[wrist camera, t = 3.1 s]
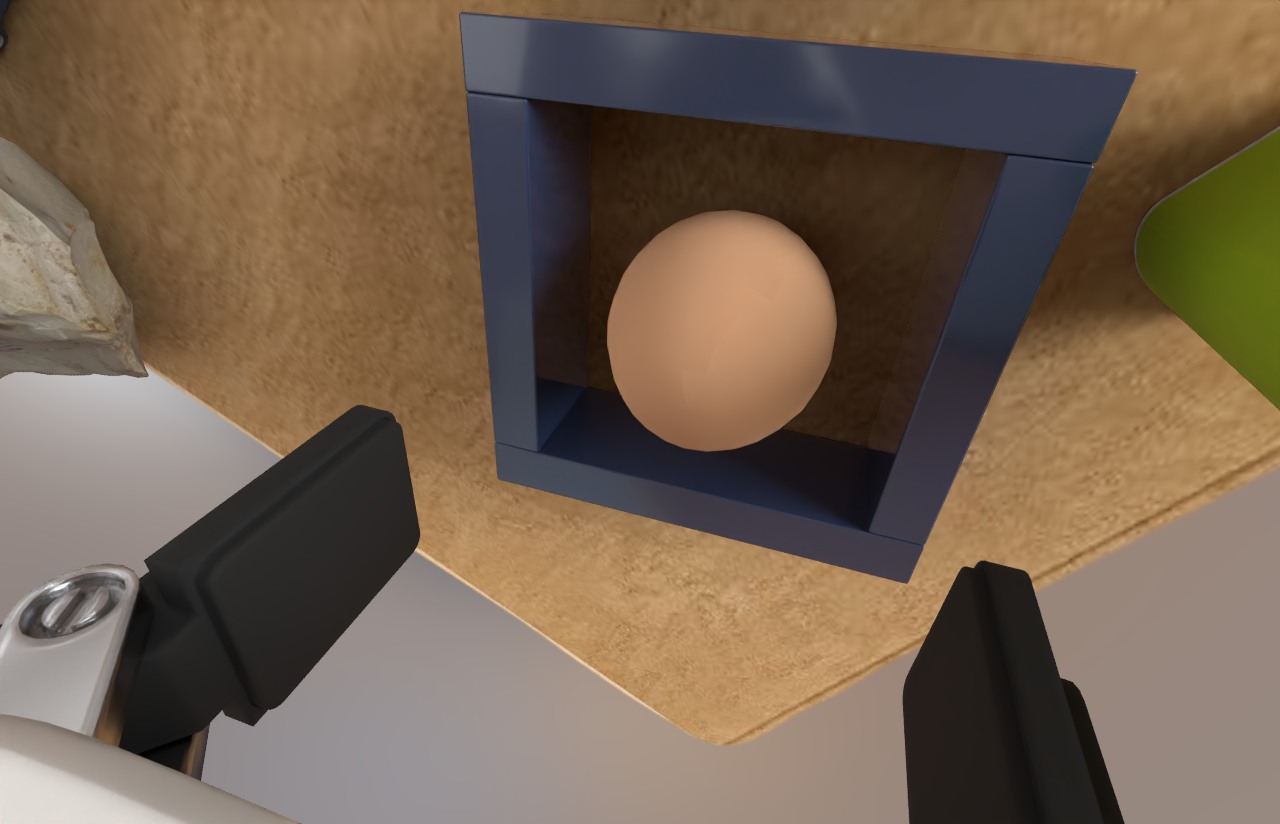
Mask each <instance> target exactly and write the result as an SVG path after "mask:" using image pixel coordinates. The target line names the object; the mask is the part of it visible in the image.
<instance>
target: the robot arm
mask: <svg viewBox="0 0 1280 824" xmlns="http://www.w3.org/2000/svg"><path fill="white" fill-rule="evenodd" d="M419 539H420V529H419V523H418V517H417V512H416V506H415V500H414V494H413V489H412V483H411V477H410V471H409V466H408V460H407V454H406V448H405V443H404V437H403V431H402V427H401V425H400V424H399V423H397V422H396V419H395V417H394V416H393V414H392V413H390V412H388V411H384V410H380V409H376V408H372V407H368V406H364V405H357V406H355V407H353V408H351V409H350V410H348V411H347V412H346V413H344V414H343V415H342V416H340V417H339V418H337V419H336V420H335V421H333V422H332V423H331V424H329V425H328V426H327V427H325V428H324V429H322V430H321V431H320V432H318V433H317V434H316V435H314V436H313V437H312V438H310V439H309V440H307V441H306V442H305V443H303V444H302V445H301V446H299V447H298V448H297V449H295V450H294V451H292V452H291V453H290V454H288V455H287V456H286V457H284V458H283V459H282V460H280V461H279V462H278V463H276V464H275V465H273V466H272V467H271V468H269V469H268V470H267V471H265V472H264V473H263V474H262V475H260V476H258V477H257V478H256V479H254V480H253V481H252V482H250V483H249V484H248V485H246V486H245V487H243V488H242V489H241V490H239V491H238V492H237V493H235V494H234V495H232V496H231V497H230V498H228V499H227V500H226V501H224V502H223V503H222V504H220V505H219V506H217V507H216V508H215V509H214V510H212V511H211V512H209V513H208V514H207V515H205V516H204V517H202V518H201V519H200V520H198V521H197V522H196V523H195V524H193V525H192V526H190V527H189V528H187V529H186V530H185V531H184V532H182V533H181V534H179V535H178V536H177V537H175V538H174V539H173V540H171V541H170V542H169V543H167V544H166V545H164V546H163V547H162V548H160V549H159V550H157V551H156V552H155V553H153V554H152V555H151V556H149V557H148V558H147V559H145V560H144V562H145V563H146V565H147V567H148V569H149V572H148V573H146V574H145V575H144V576H143V577H141V578H140V579H139V578H138V576H137V575H136V574H135V572H134V571H133V570H131V569H130V568H128V567H125V566H123V565H115V564H101V565H92V566H87V567H84V568H80V569H77V570H73V571H69V572H67V573H65V574H63V575H60V576H58V577H56V578H53V579H51V580H49V581H48V582H46V583H44V584H43V585H41V586H39V587H38V588H36V589H34V590H33V591H31V592H30V593H29V594H28V595H26V596H25V597H24V598H23V599H22V600H21V601H20V602H19V603H17V604H16V605H15V606H14V608H13V609H12V611H11V612H10V613H9V615H8V616H7V617H6V619H5V621H4V623H3V624H1V625H0V824H300V823H298V822H296V821H293V820H291V819H289V818H286V817H284V816H282V815H279V814H277V813H275V812H272V811H270V810H267V809H265V808H263V807H260V806H258V805H256V804H253V803H251V802H249V801H246V800H244V799H242V798H239V797H237V796H235V795H232V794H230V793H228V792H225V791H223V790H221V789H218V788H216V787H214V786H211V785H209V784H207V783H204V782H202V781H201V777H202V770H203V764H204V758H205V751H206V745H207V739H208V733H209V726H210V722H211V721H212V720H213V719H214V718H215V717H216V716H217V715H218V714H219V713H220V712H221V710H223V712H224V714H225V715H226V716H228V717H231V718H233V719H236V720H238V721H241V722H243V723H246V724H248V725H251V726H254V725H255V724H256V723H257V722H258V721H259V719H260V718H261V717H262V716H263V715H264V714H265V713H266V712H267V710H268V709H269V710H271V709H274V708H276V707H278V706H279V705H280V704H282V702H284V701H285V699H286V698H287V697H288V696H289V695H290V694H291V692H292V691H293V690H294V689H295V688H296V687H297V686H298V685H299V683H300V682H301V681H302V680H303V678H305V676H306V675H307V674H308V673H309V672H310V671H311V670H312V668H313V667H314V666H315V665H316V664H317V663H318V661H319V660H320V659H321V658H322V657H323V656H324V655H325V653H326V652H327V651H328V650H329V649H330V647H332V645H333V644H334V643H335V642H336V641H337V639H338V638H339V637H340V636H341V635H342V634H343V633H344V631H345V630H346V629H347V628H348V627H349V626H350V625H351V624H352V622H353V621H354V620H355V619H356V618H357V617H358V615H359V614H360V613H361V612H362V611H363V610H364V608H365V607H366V606H367V605H368V604H369V603H370V602H371V600H372V599H373V598H374V597H375V596H376V595H377V593H378V592H379V591H380V590H381V589H382V588H383V587H384V586H385V584H386V583H387V582H388V581H389V580H390V579H391V577H392V576H393V575H394V574H395V573H396V571H398V569H399V568H400V567H401V566H402V565H403V563H404V562H405V561H406V560H407V559H408V558H409V557H410V556H411V554H412V553H413V552H414V550H415V549H416V547H417V545H418V542H419ZM903 714H904V715H903V716H904V734H905V750H906V770H907V788H908V806H909V822H910V823H909V824H1124V820H1123V818H1122V814H1121V811H1120V808H1119V805H1118V802H1117V799H1116V796H1115V793H1114V790H1113V787H1112V784H1111V781H1110V778H1109V775H1108V772H1107V768H1106V766H1105V763H1104V759H1103V756H1102V753H1101V750H1100V747H1099V744H1098V741H1097V738H1096V735H1095V732H1094V729H1093V726H1092V722H1091V720H1090V717H1089V714H1088V710H1087V707H1086V704H1085V701H1084V699H1083V697H1082V695H1081V692H1080V690H1079V689H1078V688H1077V687H1076V685H1075V684H1074V683H1073V682H1071V681H1068V680H1065V679H1062V678H1060V676H1059V673H1058V669H1057V666H1056V662H1055V659H1054V656H1053V652H1052V649H1051V646H1050V643H1049V639H1048V636H1047V632H1046V630H1045V626H1044V622H1043V620H1042V616H1041V612H1040V609H1039V606H1038V603H1037V599H1036V596H1035V592H1034V589H1033V586H1032V582H1031V579H1030V577H1029V575H1028V573H1026V572H1025V571H1023V570H1019V569H1015V568H1011V567H1007V566H1003V565H999V564H995V563H991V562H987V561H980V562H978V563H977V564H976V566H975V567H974V568H970V567H963V568H961V570H960V571H959V573H958V575H957V577H956V579H955V581H954V583H953V585H952V587H951V589H950V591H949V593H948V595H947V597H946V599H945V601H944V603H943V605H942V607H941V609H940V611H939V613H938V615H937V617H936V619H935V621H934V623H933V625H932V627H931V629H930V631H929V633H928V635H927V637H926V639H925V641H924V643H923V645H922V647H921V649H920V651H919V653H918V655H917V657H916V659H915V661H914V663H913V665H912V667H911V669H910V671H909V673H908V675H907V677H906V680H905V684H904V690H903Z"/></svg>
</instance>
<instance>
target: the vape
mask: <svg viewBox="0 0 1280 824" xmlns="http://www.w3.org/2000/svg"><path fill="white" fill-rule="evenodd" d="M1134 257H1135V263H1136V267H1137V269H1138V272H1139V274H1140V276H1141V278H1142V280H1143V281H1144V283H1145V284H1146V285H1147V287H1148V288H1149V289H1150V290H1151V291H1152V292H1153V293H1154V294H1155V295H1156V296H1157V297H1158V298H1159V299H1160V300H1161V301H1163V302H1164V303H1165V304H1166V305H1167V306H1168V307H1169V308H1170V309H1171V310H1172V311H1173V312H1174V313H1175V314H1177V315H1178V316H1179V317H1180V318H1181V319H1182V320H1183V321H1184V322H1185V323H1186V324H1187V325H1188V326H1189V327H1191V328H1192V329H1193V330H1194V331H1195V332H1196V333H1197V334H1198V335H1199V336H1200V337H1201V338H1202V339H1203V340H1205V341H1206V342H1207V343H1208V344H1209V345H1210V346H1211V347H1212V348H1213V349H1214V350H1215V351H1216V352H1217V353H1218V354H1220V355H1221V356H1222V357H1223V358H1224V359H1225V360H1226V361H1227V362H1228V363H1229V364H1230V365H1231V366H1232V367H1234V368H1235V369H1236V370H1237V371H1238V372H1239V373H1240V374H1241V375H1242V376H1243V377H1244V378H1245V379H1246V380H1248V381H1249V382H1250V383H1251V384H1252V385H1253V386H1254V387H1255V388H1256V389H1257V390H1258V391H1259V392H1260V393H1262V394H1263V395H1264V396H1265V397H1266V398H1267V399H1268V400H1269V401H1270V402H1271V403H1272V404H1273V405H1274V406H1276V407H1277V408H1278V409H1279V410H1280V126H1279V127H1277V128H1276V129H1274V130H1273V131H1271V132H1269V133H1268V134H1266V135H1264V136H1263V137H1261V138H1260V139H1258V140H1256V141H1255V142H1253V143H1251V144H1250V145H1248V146H1247V147H1245V148H1243V149H1242V150H1240V151H1238V152H1237V153H1235V154H1234V155H1232V156H1230V157H1229V158H1227V159H1226V160H1224V161H1222V162H1221V163H1219V164H1217V165H1216V166H1214V167H1213V168H1211V169H1209V170H1208V171H1206V172H1204V173H1203V174H1201V175H1200V176H1198V177H1196V178H1195V179H1193V180H1192V181H1190V182H1188V183H1187V184H1185V185H1183V186H1182V187H1180V188H1179V189H1177V190H1175V191H1174V192H1172V193H1170V194H1169V195H1167V196H1166V197H1164V198H1163V199H1161V200H1160V201H1158V202H1157V203H1156V204H1155V205H1154V206H1153V207H1152V208H1151V209H1150V210H1149V211H1148V212H1147V213H1146V215H1145V216H1144V218H1143V219H1142V221H1141V223H1140V225H1139V227H1138V230H1137V233H1136V236H1135V242H1134Z"/></svg>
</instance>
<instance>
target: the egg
mask: <svg viewBox="0 0 1280 824" xmlns="http://www.w3.org/2000/svg"><path fill="white" fill-rule="evenodd" d="M836 328H837V317H836V306H835V299H834V295H833V292H832V288H831V285H830V281H829V278H828V274H827V272H826V270H825V269H824V267H823V266H822V264H821V262H820V261H819V259H818V257H817V256H816V255H815V254H814V252H813V251H812V250H811V249H810V248H809V247H808V245H807V244H806V243H805V242H804V241H803V240H802V238H801V237H800V236H798V235H797V234H796V233H794V232H793V231H791V230H790V229H788V228H787V227H786V226H784V225H783V224H781V223H780V222H778V221H776V220H773V219H771V218H769V217H766V216H764V215H760V214H754V213H749V212H744V211H739V210H726V211H713V212H703V213H700V214H697V215H695V216H692V217H689V218H687V219H684V220H681V221H678V222H676V223H675V224H673V225H672V226H670V227H668V228H667V229H665V230H664V231H662V232H661V233H659V234H658V235H656V236H655V237H654V238H653V239H652V240H651V241H650V242H649V243H648V244H647V245H646V246H645V247H644V248H643V249H642V250H641V251H640V252H639V253H638V254H637V256H636V257H635V258H634V260H633V261H632V263H631V264H630V265H629V267H628V268H627V270H626V271H625V272H624V274H623V277H622V279H621V282H620V284H619V286H618V289H617V291H616V294H615V296H614V299H613V302H612V306H611V309H610V313H609V318H608V329H607V346H608V351H609V357H610V362H611V367H612V372H613V377H614V381H615V383H616V385H617V387H618V389H619V391H620V393H621V396H622V398H623V400H624V401H625V403H626V405H627V406H628V408H629V409H630V411H631V412H632V414H633V415H634V416H635V417H636V418H637V419H638V420H639V421H640V422H641V423H642V424H643V425H644V426H645V427H646V428H647V429H648V430H650V431H651V432H653V433H654V434H656V435H657V436H659V437H660V438H662V439H663V440H665V441H667V442H669V443H672V444H674V445H677V446H679V447H682V448H686V449H693V450H699V451H706V452H707V451H719V450H731V449H736V448H740V447H743V446H746V445H749V444H752V443H755V442H757V441H759V440H761V439H763V438H765V437H767V436H768V435H770V434H772V433H774V432H776V431H777V430H779V429H780V428H781V427H783V426H784V425H785V424H786V423H788V422H789V421H790V420H791V419H793V418H794V417H795V416H796V415H797V414H799V413H800V412H801V411H802V410H803V409H804V407H805V406H806V405H807V403H808V402H809V400H810V399H811V397H812V396H813V394H814V393H815V392H816V390H817V389H818V387H819V385H820V383H821V381H822V379H823V377H824V375H825V373H826V370H827V368H828V366H829V364H830V362H831V357H832V351H833V345H834V340H835V334H836Z"/></svg>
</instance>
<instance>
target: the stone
mask: <svg viewBox="0 0 1280 824" xmlns="http://www.w3.org/2000/svg"><path fill="white" fill-rule="evenodd" d="M89 214H90V213H89V212H88V210H87V209H86V208H85V206H84V205H83V204H82V203H81V202H80V201H79V200H78V199H77V198H76V197H75V196H74V195H73V194H72V193H71V192H70V191H69V190H68V189H67V188H66V186H65V185H64V184H63V183H62V182H61V181H60V180H59V179H58V178H57V177H55V176H54V175H52V174H51V173H50V172H48V171H47V170H46V169H45V168H43V167H42V166H41V165H40V164H38V163H37V162H36V161H35V160H34V159H33V158H32V157H31V156H30V155H28V154H27V153H26V152H25V151H24V150H23V149H22V148H21V147H20V146H18V145H16V144H14V143H12V142H10V141H8V140H6V139H4V138H1V137H0V379H1V378H2V377H4V376H6V375H8V374H11V373H13V372H36V373H41V374H47V375H91V374H101V375H108V376H119V375H129V376H133V377H138V378H139V377H148V373H147V371H146V369H145V367H144V363H143V359H142V355H141V351H140V348H139V344H138V340H137V336H136V331H135V325H134V315H133V305H132V300H131V298H130V297H129V296H128V295H127V294H126V292H125V291H124V290H123V289H122V288H121V287H120V285H119V283H118V282H117V280H116V279H115V277H114V275H113V273H112V272H111V270H110V268H109V266H108V264H107V262H106V259H105V257H104V254H103V252H102V249H101V246H100V244H99V241H98V238H97V236H96V233H95V226H94V222H93V221H92V220H91V219H90V217H89Z"/></svg>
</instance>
